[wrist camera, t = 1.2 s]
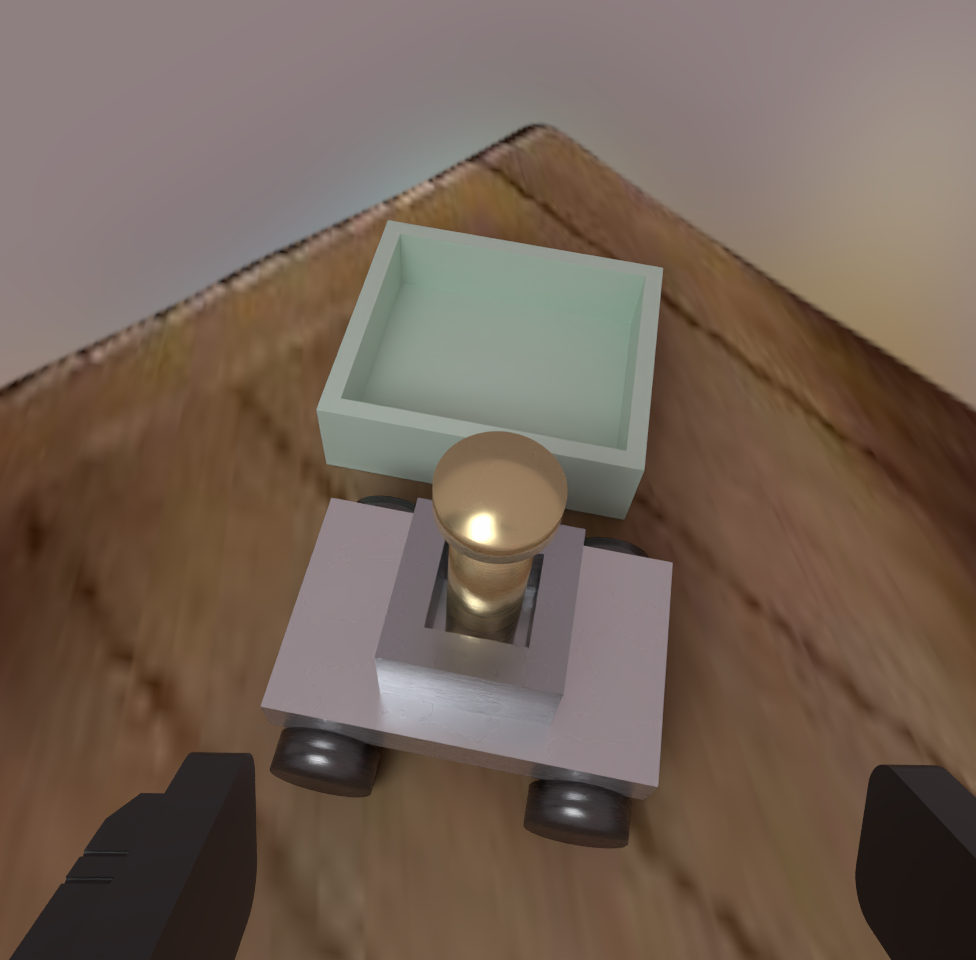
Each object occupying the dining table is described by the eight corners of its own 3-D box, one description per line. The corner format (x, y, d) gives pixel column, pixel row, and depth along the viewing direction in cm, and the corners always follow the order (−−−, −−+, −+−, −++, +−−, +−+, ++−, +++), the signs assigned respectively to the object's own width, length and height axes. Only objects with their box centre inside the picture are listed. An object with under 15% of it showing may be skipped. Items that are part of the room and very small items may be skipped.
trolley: (271, 782, 37) (225, 715, 28) (350, 531, 44) (332, 419, 36) (623, 855, 36) (682, 808, 28) (645, 587, 43) (698, 486, 35)
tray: (326, 463, 46) (316, 409, 42) (391, 280, 54) (387, 220, 50) (624, 519, 45) (644, 470, 41) (644, 325, 54) (663, 267, 49)
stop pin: (421, 666, 34) (418, 531, 24) (442, 576, 36) (447, 420, 27) (520, 686, 34) (558, 558, 24) (535, 595, 36) (575, 444, 26)
